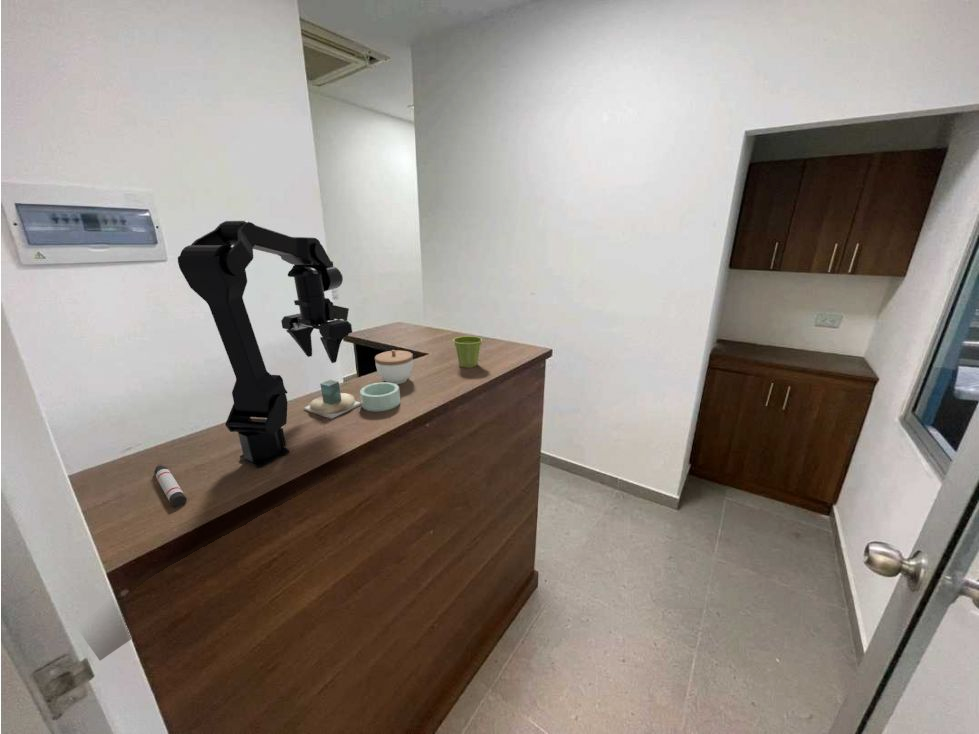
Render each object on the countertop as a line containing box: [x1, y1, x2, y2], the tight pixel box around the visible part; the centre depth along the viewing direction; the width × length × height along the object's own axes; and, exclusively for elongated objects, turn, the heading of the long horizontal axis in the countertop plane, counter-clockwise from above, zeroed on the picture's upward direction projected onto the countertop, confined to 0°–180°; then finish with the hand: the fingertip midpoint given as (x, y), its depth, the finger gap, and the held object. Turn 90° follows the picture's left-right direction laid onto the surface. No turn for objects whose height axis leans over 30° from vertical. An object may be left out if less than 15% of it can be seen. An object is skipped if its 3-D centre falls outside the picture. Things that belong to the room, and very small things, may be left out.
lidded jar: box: [374, 349, 414, 385], centre depth 111 cm, size 11×11×9 cm
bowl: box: [359, 381, 401, 413], centre depth 97 cm, size 9×9×4 cm
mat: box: [303, 400, 362, 420], centre depth 96 cm, size 9×10×1 cm
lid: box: [309, 379, 356, 415], centre depth 95 cm, size 10×10×6 cm
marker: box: [153, 464, 188, 508], centre depth 66 cm, size 15×2×2 cm, turn 49°
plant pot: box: [452, 335, 483, 369], centre depth 124 cm, size 9×9×9 cm
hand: (321, 359), depth 93 cm, fingers open, 9 cm apart
